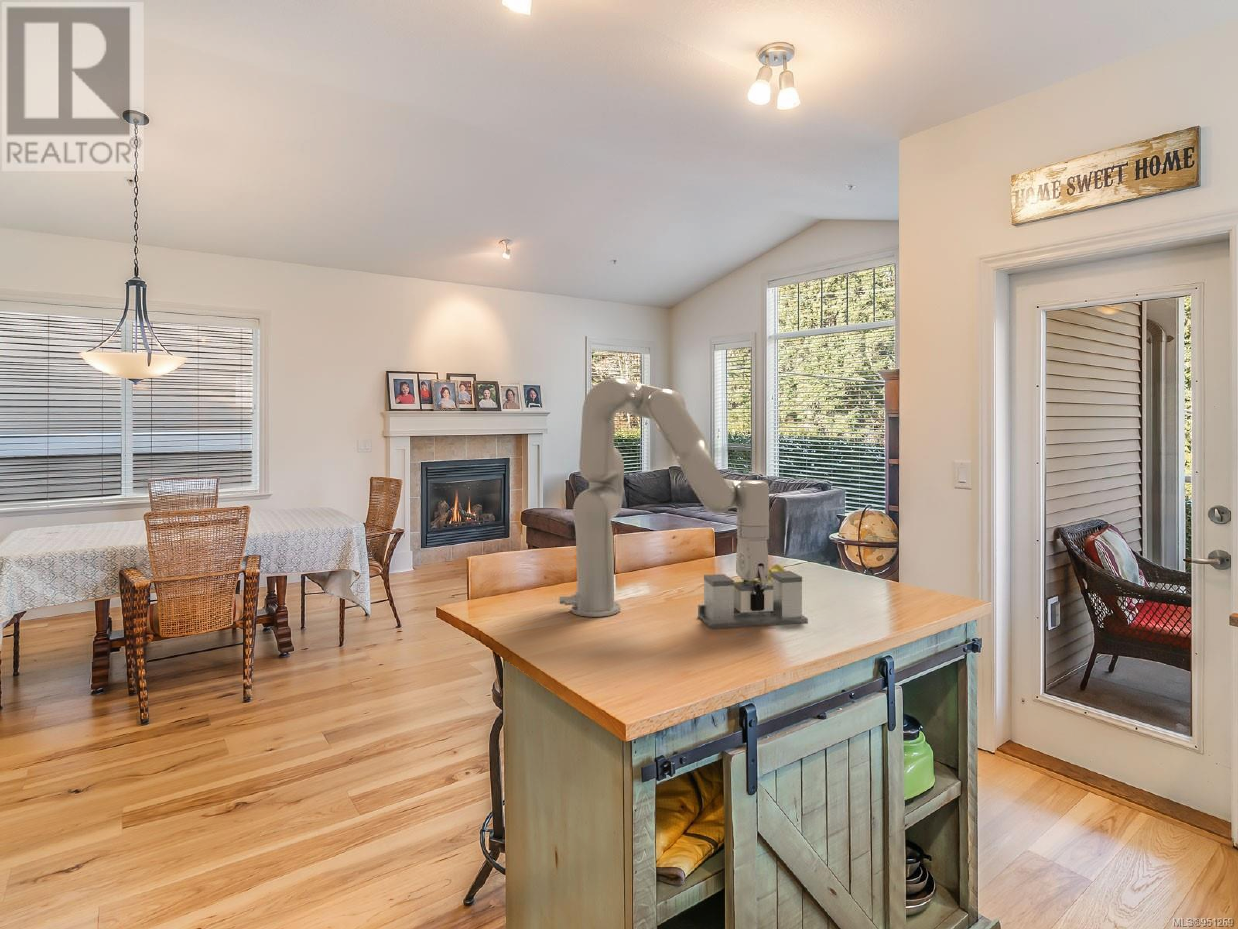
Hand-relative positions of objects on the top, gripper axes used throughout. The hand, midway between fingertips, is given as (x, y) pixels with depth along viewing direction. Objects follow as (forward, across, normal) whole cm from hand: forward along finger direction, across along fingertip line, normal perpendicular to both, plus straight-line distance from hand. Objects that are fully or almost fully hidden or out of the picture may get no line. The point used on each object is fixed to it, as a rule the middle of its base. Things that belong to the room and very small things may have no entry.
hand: (753, 606), depth 159 cm
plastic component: (+4, -25, +10) cm, 27 cm away
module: (+1, 0, 0) cm, 1 cm away
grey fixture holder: (+4, -1, 0) cm, 4 cm away
